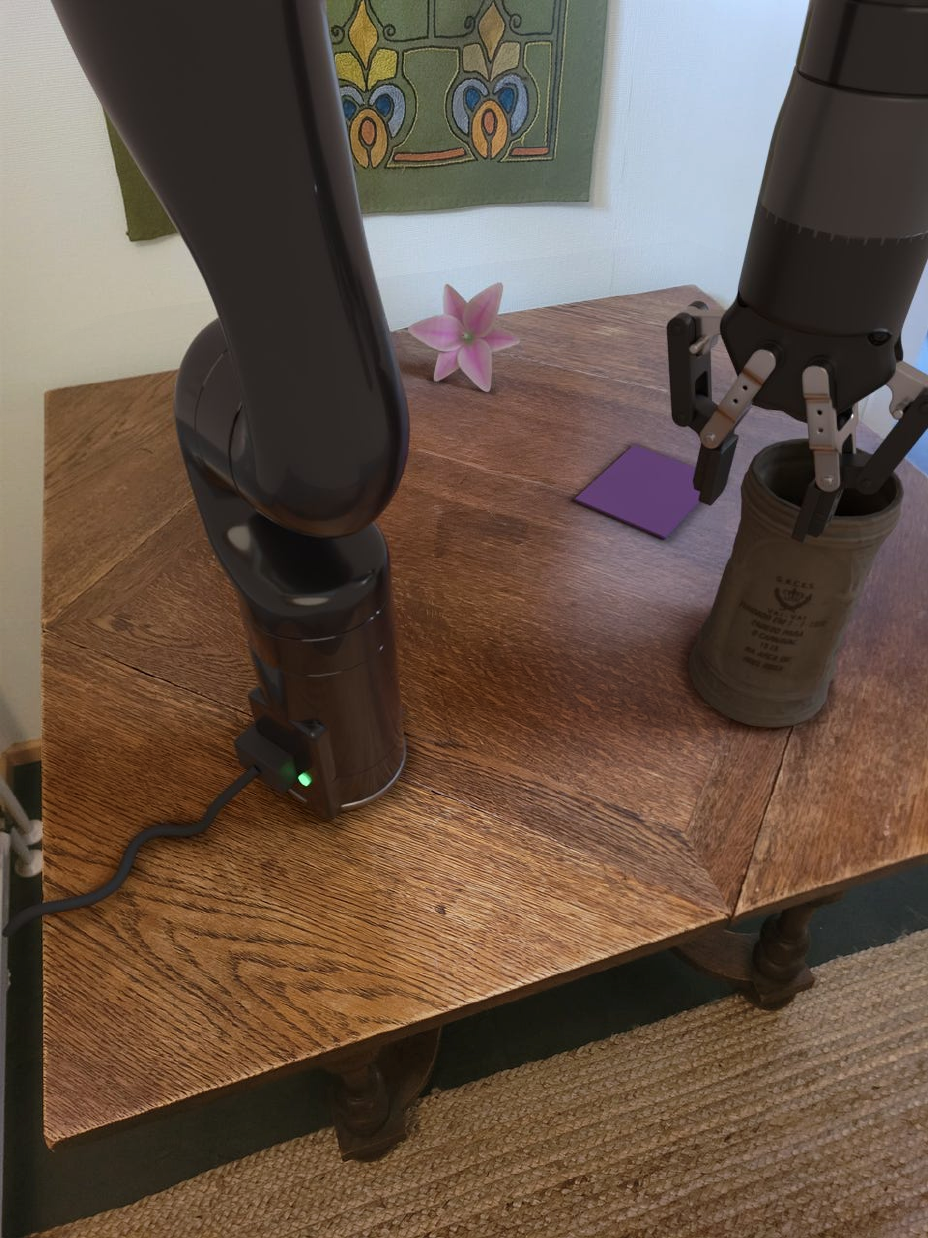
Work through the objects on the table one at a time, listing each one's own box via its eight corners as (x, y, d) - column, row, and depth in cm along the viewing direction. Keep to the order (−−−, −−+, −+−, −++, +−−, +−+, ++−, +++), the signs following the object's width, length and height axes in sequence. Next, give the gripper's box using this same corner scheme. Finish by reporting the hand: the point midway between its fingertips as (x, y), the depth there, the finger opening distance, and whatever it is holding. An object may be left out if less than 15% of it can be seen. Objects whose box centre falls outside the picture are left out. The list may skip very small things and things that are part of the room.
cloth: (664, 539, 82) (665, 537, 82) (574, 500, 87) (574, 498, 86) (720, 479, 89) (720, 477, 89) (633, 446, 94) (634, 444, 93)
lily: (400, 367, 108) (392, 321, 98) (464, 304, 110) (461, 253, 100) (474, 425, 105) (472, 382, 96) (537, 359, 107) (541, 311, 98)
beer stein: (833, 748, 65) (931, 525, 52) (686, 725, 66) (746, 503, 53) (812, 617, 76) (889, 407, 63) (688, 599, 78) (738, 391, 65)
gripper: (657, 184, 38) (611, 501, 50) (1009, 267, 32) (860, 605, 44) (731, 141, 42) (672, 442, 54) (1054, 207, 36) (907, 530, 48)
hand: (756, 514), depth 49 cm, fingers open, 5 cm apart
